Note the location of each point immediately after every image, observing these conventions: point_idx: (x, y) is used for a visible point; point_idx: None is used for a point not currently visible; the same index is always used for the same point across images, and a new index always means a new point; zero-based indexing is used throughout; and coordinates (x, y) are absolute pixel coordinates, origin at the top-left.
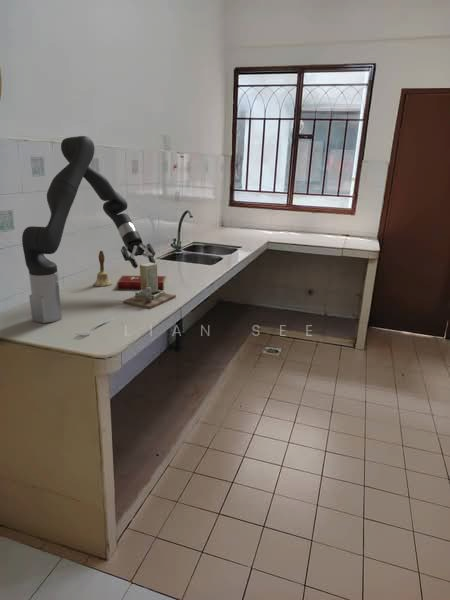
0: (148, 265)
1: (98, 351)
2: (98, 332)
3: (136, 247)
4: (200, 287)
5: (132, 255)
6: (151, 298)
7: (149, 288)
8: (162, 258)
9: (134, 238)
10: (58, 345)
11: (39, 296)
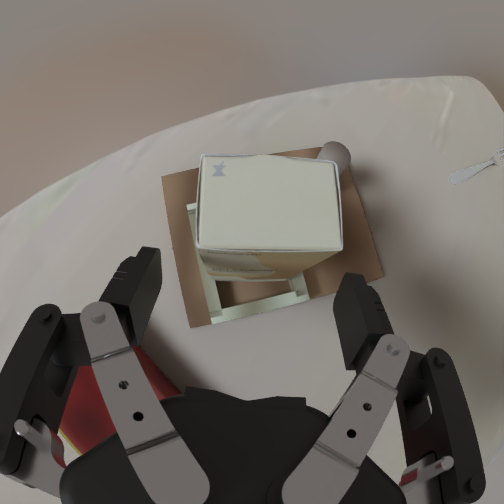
0: (301, 163)
1: (489, 96)
2: (487, 143)
3: (302, 472)
4: (14, 219)
5: (389, 367)
6: None
7: (337, 142)
8: None
9: None
10: None
11: None
